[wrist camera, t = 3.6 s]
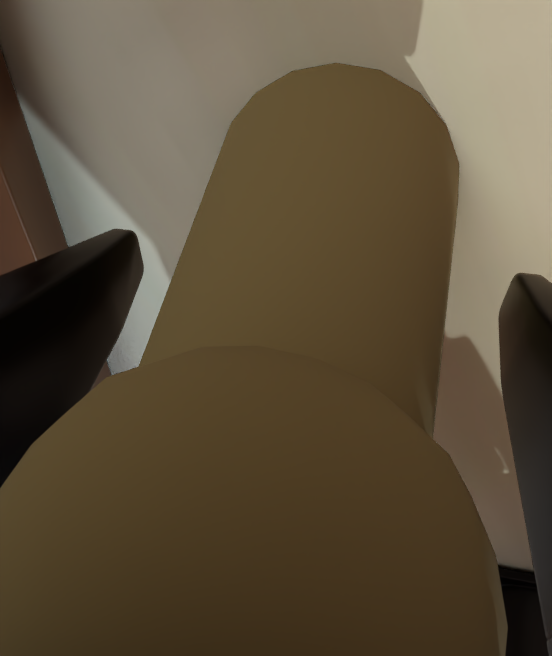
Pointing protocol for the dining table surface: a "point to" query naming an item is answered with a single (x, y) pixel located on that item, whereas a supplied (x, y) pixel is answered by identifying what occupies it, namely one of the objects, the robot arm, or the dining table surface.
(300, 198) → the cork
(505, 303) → the robot arm
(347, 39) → the dining table surface
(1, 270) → the serving board
